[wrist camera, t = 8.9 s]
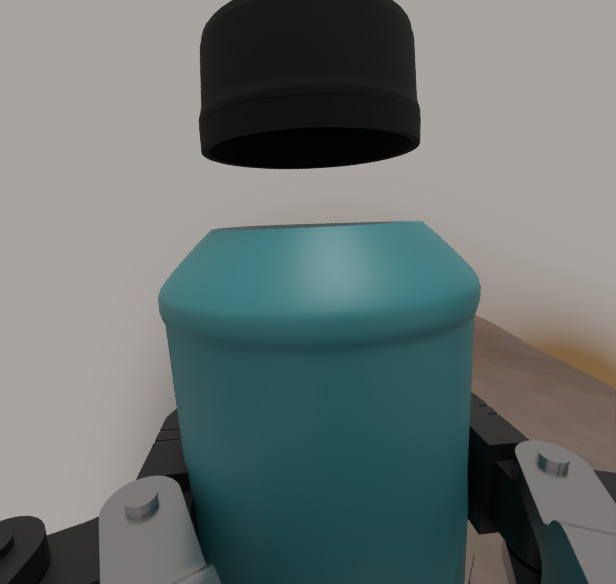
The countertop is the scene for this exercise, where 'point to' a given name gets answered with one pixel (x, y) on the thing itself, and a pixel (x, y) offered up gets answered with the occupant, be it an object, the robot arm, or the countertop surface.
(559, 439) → the countertop surface
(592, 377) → the countertop surface
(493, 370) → the countertop surface
